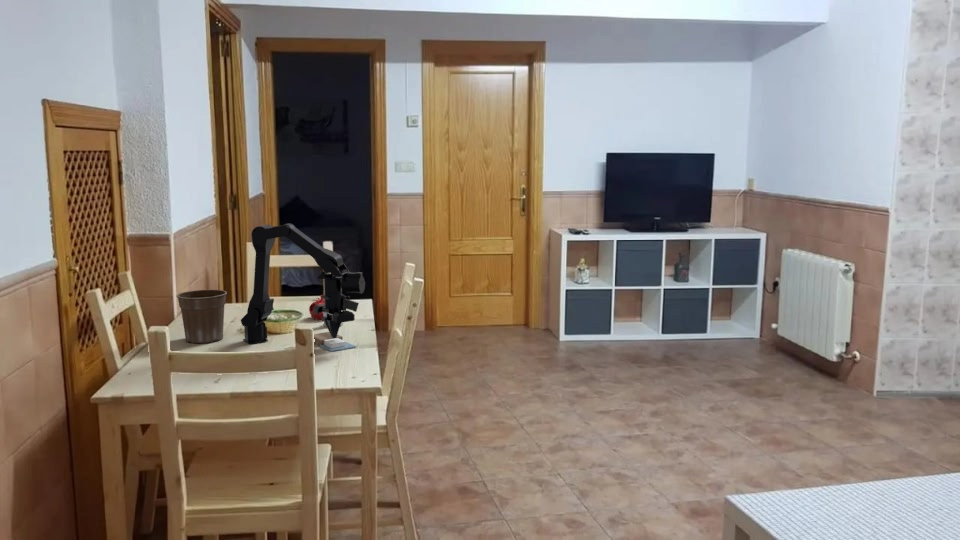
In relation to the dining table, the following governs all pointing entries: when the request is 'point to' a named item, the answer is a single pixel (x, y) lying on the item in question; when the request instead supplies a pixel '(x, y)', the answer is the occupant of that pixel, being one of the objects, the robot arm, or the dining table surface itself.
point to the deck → (323, 337)
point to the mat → (338, 347)
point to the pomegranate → (311, 310)
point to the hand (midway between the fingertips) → (334, 338)
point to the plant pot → (202, 314)
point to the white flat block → (334, 343)
